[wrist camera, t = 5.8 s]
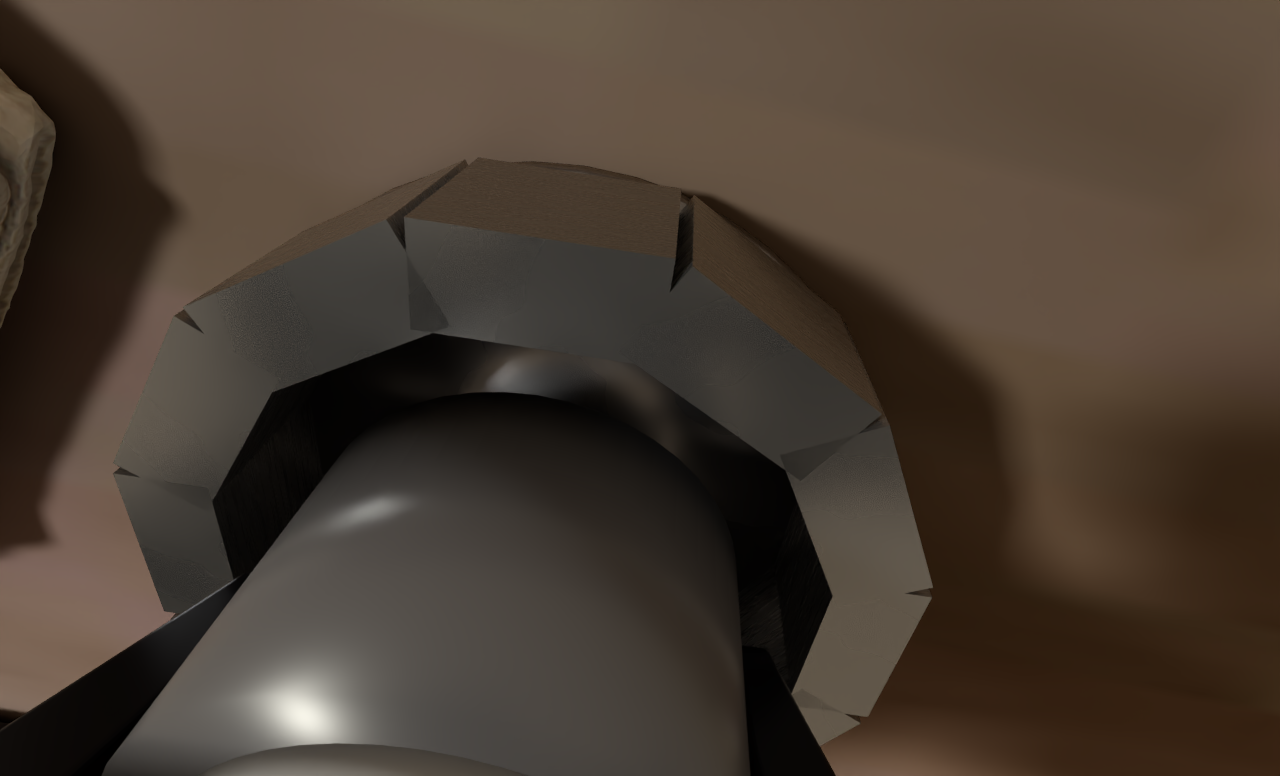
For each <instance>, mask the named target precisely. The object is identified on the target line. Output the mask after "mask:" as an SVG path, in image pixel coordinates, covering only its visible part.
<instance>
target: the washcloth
mask: <svg viewBox="0 0 1280 776" xmlns="http://www.w3.org/2000/svg"><path fill="white" fill-rule="evenodd" d="M55 139H56V131H55V126H54V122H53V121H52V120H51V119H50V118H49V117H48V116H47V115H46V114H45V113H44V112H43V111H42V110H41V108H40V107H39V106H38V104H37V103H36V102H35V100H34V99H33V98H32V96H30V95H29V94H27V93H25V92H24V91H22V90H20V89H19V88H18V87H17V86H16V85H15V84H14V83H13V82H12V81H11V79H10V78H9V77H8V76H7V75H6V74H5V73H4V72H3V71H2V70H1V69H0V328H1V326H2V323H3V320H4V317H5V314H6V312H7V310H8V309H9V308H10V302H11V299H12V297H13V294H14V293H15V291H16V289H17V287H18V283H19V279H20V276H21V274H22V271H23V265H24V257H25V255H26V252H27V250H28V248H29V245H30V241H31V235H32V233H33V231H34V229H35V228H36V226H37V214H38V212H39V210H40V208H41V205H42V201H43V196H44V193H45V189H46V185H47V181H48V178H49V175H50V172H51V168H52V153H53V149H54V144H55Z"/></svg>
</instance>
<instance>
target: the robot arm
mask: <svg viewBox="0 0 1280 776" xmlns="http://www.w3.org/2000/svg"><path fill="white" fill-rule="evenodd" d="M250 574H251V572H247V573H244V574H242V575H240V576H239V577H237V578H235V579H234V580H232V581H231V582H229V583H228V584H226V585H225V586H223V587H221V588H220V589H218V590H217V591H215V592H214V593H212V594H211V595H209V596H207V597H206V598H204V599H203V600H201V601H200V602H198V603H197V604H195V605H193V606H192V607H190V608H189V609H187V610H186V611H184V612H183V613H181V614H179V615H178V616H176V617H175V618H173V619H172V620H170V621H169V622H167V623H165V624H164V625H162V626H161V627H159V628H158V629H156V630H155V631H153V632H151V633H150V634H148V635H147V636H145V637H144V638H142V639H141V640H139V641H137V642H136V643H134V644H133V645H131V646H130V647H128V648H127V649H125V650H123V651H122V652H120V653H119V654H117V655H116V656H114V657H113V658H111V659H109V660H108V661H106V662H105V663H103V664H102V665H100V666H99V667H97V668H95V669H94V670H92V671H91V672H89V673H88V674H86V675H85V676H83V677H81V678H80V679H78V680H77V681H75V682H74V683H72V684H71V685H69V686H67V687H66V688H64V689H63V690H61V691H60V692H58V693H57V694H55V695H53V696H52V697H50V698H49V699H47V700H46V701H44V702H43V703H41V704H39V705H38V706H36V707H35V708H33V709H32V710H30V711H29V712H27V713H25V714H24V715H22V716H21V717H19V718H18V719H16V720H15V721H13V722H11V723H10V724H9V723H2V722H0V776H102V773H103V771H104V769H105V766H106V764H107V763H108V761H109V760H110V759H111V757H112V756H113V755H114V753H115V752H116V751H117V749H118V748H119V747H120V745H121V744H122V743H123V742H124V740H125V739H126V738H127V736H128V735H129V734H130V732H131V731H132V730H133V728H134V727H135V726H136V724H137V723H138V722H139V720H140V719H141V718H142V716H143V715H144V714H145V712H146V711H147V710H148V708H149V707H150V706H151V705H152V703H153V702H154V701H155V699H156V698H157V697H158V695H159V694H160V693H161V691H162V690H163V689H164V687H165V686H166V685H167V683H168V682H169V681H170V679H171V678H172V677H173V675H174V674H175V673H176V671H177V670H178V669H179V668H180V666H181V665H182V664H183V662H184V661H185V660H186V658H187V657H188V656H189V654H190V653H191V652H192V650H193V649H194V648H195V646H196V645H197V644H198V642H199V641H200V640H201V638H202V637H203V636H204V634H205V633H206V632H207V631H208V629H209V628H210V627H211V625H212V624H213V623H214V621H215V620H216V619H217V617H218V616H219V615H220V613H221V612H222V611H223V609H224V608H225V607H226V605H227V604H228V603H229V601H230V600H231V599H232V597H233V596H234V595H235V593H236V592H237V591H238V590H239V588H240V587H241V586H242V584H243V583H244V582H245V580H246V579H247V578H248V576H249V575H250ZM742 656H743V671H744V686H745V701H746V716H747V731H748V746H749V761H750V776H836V775H835V773H834V772H833V770H832V768H831V766H830V764H829V762H828V761H827V759H826V757H825V755H824V753H823V751H822V749H821V748H820V746H819V744H818V742H817V740H816V738H815V737H814V735H813V733H812V731H811V729H810V727H809V726H808V724H807V722H806V720H805V718H804V716H803V715H802V713H801V711H800V709H799V707H798V705H797V703H796V702H795V700H794V698H793V696H792V694H791V692H790V691H789V689H788V687H787V685H786V683H785V681H784V680H783V678H782V676H781V674H780V672H779V670H778V669H777V667H776V665H775V663H774V661H773V659H772V657H771V656H770V654H769V653H768V652H767V651H766V650H765V649H763V648H758V647H752V646H745V645H742Z"/></svg>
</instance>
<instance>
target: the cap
mask: <svg viewBox="0 0 1280 776" xmlns="http://www.w3.org/2000/svg"><path fill="white" fill-rule="evenodd" d="M102 776H750V761H749V746H748V731H747V716H746V701H745V686H744V671H743V656H742V641H741V626H740V611H739V596H738V581H737V566H736V557H735V551H734V545H733V540H732V537H731V534H730V531H729V529H728V526H727V523H726V520H725V518H724V516H723V514H722V512H721V511H720V509H719V507H718V505H717V503H716V502H715V500H714V498H713V497H712V495H711V494H710V493H709V491H708V490H707V489H706V487H705V486H704V485H703V484H702V482H701V481H700V480H699V478H698V477H697V476H696V475H695V474H694V473H693V472H692V471H691V470H690V469H689V468H688V467H687V466H686V465H685V464H684V463H683V462H682V461H681V460H680V459H679V458H678V457H676V456H675V455H674V454H672V453H671V452H670V451H668V450H667V449H666V448H664V447H663V446H662V445H661V444H659V443H658V442H657V441H655V440H654V439H652V438H650V437H649V436H647V435H645V434H644V433H642V432H640V431H639V430H637V429H635V428H633V427H632V426H630V425H628V424H626V423H624V422H622V421H619V420H617V419H615V418H613V417H611V416H608V415H606V414H604V413H602V412H599V411H596V410H593V409H590V408H587V407H584V406H581V405H578V404H575V403H571V402H568V401H563V400H559V399H554V398H549V397H544V396H539V395H532V394H522V393H511V392H472V393H464V394H457V395H449V396H442V397H439V398H435V399H431V400H427V401H424V402H420V403H416V404H413V405H411V406H408V407H406V408H404V409H401V410H399V411H397V412H394V413H392V414H390V415H388V416H386V417H385V418H383V419H381V420H380V421H378V422H376V423H375V424H373V425H372V426H370V427H368V428H367V429H366V430H365V431H364V432H362V433H361V434H360V435H359V436H358V437H357V438H355V439H354V440H353V441H352V442H351V443H350V444H349V445H348V446H347V448H346V449H345V450H344V451H343V453H342V454H341V455H340V456H339V458H338V459H337V460H336V461H335V463H334V464H333V465H332V467H331V468H330V469H329V471H328V472H327V473H326V475H325V476H324V477H323V479H322V480H321V481H320V482H319V484H318V485H317V486H316V488H315V489H314V490H313V492H312V493H311V494H310V496H309V497H308V498H307V500H306V501H305V502H304V504H303V505H302V506H301V508H300V509H299V510H298V512H297V513H296V514H295V516H294V517H293V518H292V519H291V521H290V522H289V523H288V525H287V526H286V527H285V529H284V530H283V531H282V533H281V534H280V535H279V537H278V538H277V539H276V541H275V542H274V543H273V545H272V546H271V547H270V549H269V550H268V551H267V553H266V554H265V555H264V556H263V558H262V559H261V560H260V562H259V563H258V564H257V566H256V567H255V568H254V570H253V571H252V572H251V574H250V575H249V576H248V578H247V579H246V580H245V582H244V583H243V584H242V586H241V587H240V588H239V590H238V591H237V592H236V593H235V595H234V596H233V597H232V599H231V600H230V601H229V603H228V604H227V605H226V607H225V608H224V609H223V611H222V612H221V613H220V615H219V616H218V617H217V619H216V620H215V621H214V623H213V624H212V625H211V627H210V628H209V629H208V631H207V632H206V633H205V634H204V636H203V637H202V638H201V640H200V641H199V642H198V644H197V645H196V646H195V648H194V649H193V650H192V652H191V653H190V654H189V656H188V657H187V658H186V660H185V661H184V662H183V664H182V665H181V666H180V668H179V669H178V670H177V671H176V673H175V674H174V675H173V677H172V678H171V679H170V681H169V682H168V683H167V685H166V686H165V687H164V689H163V690H162V691H161V693H160V694H159V695H158V697H157V698H156V699H155V701H154V702H153V703H152V705H151V706H150V707H149V708H148V710H147V711H146V712H145V714H144V715H143V716H142V718H141V719H140V720H139V722H138V723H137V724H136V726H135V727H134V728H133V730H132V731H131V732H130V734H129V735H128V736H127V738H126V739H125V740H124V742H123V743H122V744H121V745H120V747H119V748H118V749H117V751H116V752H115V753H114V755H113V756H112V757H111V759H110V760H109V761H108V763H107V764H106V766H105V769H104V771H103V773H102Z"/></svg>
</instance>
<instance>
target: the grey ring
mask: <svg viewBox="0 0 1280 776" xmlns="http://www.w3.org/2000/svg"><path fill="white" fill-rule="evenodd" d="M183 308H184V310H183V311H181V312H179V313H178V314H176V315H175V316H174V317H173V319H172V322H171V324H170V327H169V329H168V331H167V334H166V336H165V339H164V341H163V343H162V346H161V348H160V351H159V353H158V356H157V358H156V360H155V363H154V365H153V368H152V370H151V373H150V375H149V377H148V380H147V382H146V385H145V387H144V390H143V392H142V394H141V397H140V399H139V402H138V404H137V407H136V409H135V411H134V414H133V416H132V419H131V421H130V423H129V426H128V428H127V431H126V433H125V436H124V438H123V440H122V443H121V445H120V448H119V450H118V453H117V455H116V457H115V460H114V462H113V463H114V464H116V465H117V466H119V467H120V468H119V469H118V470H117V471H115V472H114V473H113V475H114V477H115V480H116V483H117V485H118V488H119V491H120V493H121V496H122V499H123V501H124V504H125V507H126V510H127V512H128V515H129V518H130V520H131V523H132V526H133V528H134V531H135V534H136V536H137V539H138V542H139V545H140V547H141V550H142V553H143V555H144V558H145V561H146V563H147V566H148V569H149V571H150V574H151V577H152V580H153V582H154V585H155V588H156V590H157V593H158V596H159V598H160V601H161V604H162V606H163V609H164V611H167V612H173V613H176V614H175V615H174V616H173V617H172V618H171V620H172V619H173V618H175V617H176V616H178V615H179V614H181V613H183V612H184V611H186V610H187V609H189V608H190V607H192V606H193V605H195V604H197V603H198V602H200V601H201V600H203V599H204V598H206V597H207V596H209V595H211V594H212V593H214V592H215V591H217V590H218V589H220V588H221V587H223V586H225V585H226V584H228V583H229V582H231V581H232V580H234V579H235V578H237V577H239V576H240V575H242V574H244V573H247V572H252V571H253V570H254V568H255V567H256V566H257V564H258V563H259V562H260V560H261V559H262V558H263V556H264V555H265V554H266V553H267V551H268V550H269V549H270V547H271V546H272V545H273V543H274V542H275V541H276V539H277V538H278V537H279V535H280V534H281V533H282V531H283V530H284V529H285V527H286V526H287V525H288V523H289V522H290V521H291V519H292V518H293V517H294V516H295V514H296V513H297V512H298V510H299V509H300V508H301V506H302V505H303V504H304V502H305V501H306V500H307V498H308V497H309V496H310V494H311V493H312V492H313V490H314V489H315V488H316V486H317V485H318V484H319V482H320V481H321V480H322V479H323V477H324V476H325V475H326V473H327V472H328V471H329V469H330V468H331V467H332V465H333V464H334V463H335V461H336V460H337V459H338V458H339V456H340V455H341V454H342V453H343V451H344V450H345V449H346V448H347V446H348V445H349V444H350V443H351V442H352V441H353V440H354V439H355V438H357V437H358V436H359V435H360V434H361V433H362V432H364V431H365V430H366V429H367V428H368V427H370V426H372V425H373V424H375V423H376V422H378V421H380V420H381V419H383V418H385V417H386V416H388V415H390V414H392V413H394V412H397V411H399V410H401V409H404V408H406V407H408V406H411V405H413V404H416V403H420V402H424V401H427V400H431V399H435V398H439V397H442V396H449V395H457V394H464V393H472V392H511V393H522V394H532V395H539V396H544V397H549V398H554V399H559V400H563V401H568V402H571V403H575V404H578V405H581V406H584V407H587V408H590V409H593V410H596V411H599V412H602V413H604V414H606V415H608V416H611V417H613V418H615V419H617V420H619V421H622V422H624V423H626V424H628V425H630V426H632V427H633V428H635V429H637V430H639V431H640V432H642V433H644V434H645V435H647V436H649V437H650V438H652V439H654V440H655V441H657V442H658V443H659V444H661V445H662V446H663V447H664V448H666V449H667V450H668V451H670V452H671V453H672V454H674V455H675V456H676V457H678V458H679V459H680V460H681V461H682V462H683V463H684V464H685V465H686V466H687V467H688V468H689V469H690V470H691V471H692V472H693V473H694V474H695V475H696V476H697V477H698V478H699V480H700V481H701V482H702V484H703V485H704V486H705V487H706V489H707V490H708V491H709V493H710V494H711V495H712V497H713V498H714V500H715V502H716V503H717V505H718V507H719V509H720V511H721V512H722V514H723V516H724V518H725V520H726V523H727V526H728V529H729V531H730V534H731V537H732V540H733V545H734V551H735V557H736V566H737V581H738V596H739V611H740V626H741V641H742V645H745V646H752V647H758V648H763V649H765V650H766V651H767V652H768V653H769V654H770V656H771V657H772V659H773V661H774V663H775V665H776V667H777V669H778V670H779V672H780V674H781V676H782V678H783V680H784V681H785V683H786V685H787V687H788V689H789V691H790V692H791V694H792V696H793V698H794V700H795V702H796V703H797V705H798V707H799V709H800V711H801V713H802V715H803V716H804V718H805V720H806V722H807V724H808V726H809V727H810V729H811V731H812V733H813V735H814V737H815V738H816V740H817V742H818V744H819V746H821V745H823V744H825V743H826V742H828V741H830V740H832V739H834V738H835V737H837V736H839V735H841V734H843V733H844V732H846V731H848V730H850V729H852V728H853V727H855V726H857V725H859V724H860V723H861V722H860V718H859V716H864V717H868V716H869V714H870V712H871V710H872V708H873V706H874V704H875V703H876V701H877V699H878V697H879V695H880V693H881V691H882V690H883V688H884V686H885V684H886V682H887V680H888V678H889V677H890V675H891V673H892V671H893V669H894V667H895V665H896V664H897V662H898V660H899V658H900V656H901V654H902V652H903V651H904V649H905V647H906V645H907V643H908V641H909V639H910V638H911V636H912V634H913V632H914V630H915V628H916V626H917V625H918V623H919V621H920V619H921V617H922V615H923V613H924V612H925V610H926V608H927V606H928V604H929V602H930V600H931V599H932V596H931V594H930V591H929V588H933V585H932V582H931V578H930V574H929V570H928V567H927V563H926V559H925V555H924V552H923V548H922V544H921V540H920V537H919V533H918V529H917V526H916V522H915V518H914V514H913V511H912V507H911V503H910V499H909V496H908V492H907V488H906V484H905V481H904V477H903V473H902V470H901V466H900V462H899V458H898V455H897V451H896V447H895V443H894V440H893V436H892V432H891V428H890V425H889V423H888V420H887V418H886V416H885V413H884V411H883V409H882V406H881V404H880V402H879V399H878V397H877V395H876V392H875V390H874V388H873V386H872V383H871V381H870V379H869V376H868V374H867V372H866V369H865V367H864V365H863V362H862V360H861V358H860V355H859V353H858V351H857V348H856V346H855V344H854V341H853V339H852V337H851V334H850V332H849V330H848V327H847V325H846V323H843V321H842V319H841V316H840V314H839V313H838V312H837V311H836V310H834V309H833V308H832V307H831V306H829V305H828V304H827V303H826V302H825V301H823V300H822V299H821V298H820V297H818V296H817V295H816V294H815V293H814V292H812V291H811V290H810V289H809V288H808V287H807V285H806V284H805V283H804V282H803V280H802V279H801V278H800V277H799V276H798V275H797V274H796V273H795V272H794V271H793V270H792V269H791V268H790V267H789V266H788V265H786V264H785V263H784V262H783V261H782V260H781V259H780V258H779V257H778V256H777V255H776V254H775V253H774V252H773V251H772V250H771V249H770V248H769V247H767V246H766V245H765V244H763V243H762V242H761V241H759V240H758V239H756V238H755V237H754V236H752V235H751V234H749V233H748V232H747V231H745V230H744V229H742V228H741V227H740V226H738V225H737V224H735V223H734V222H733V221H731V220H730V219H728V218H727V217H725V216H723V215H721V214H719V213H717V212H715V211H713V210H712V209H711V208H710V207H708V206H707V205H706V204H705V203H704V202H702V201H701V200H700V199H699V198H697V197H696V196H695V195H694V196H693V197H692V198H689V197H687V196H685V195H683V194H681V189H679V188H672V187H666V186H660V185H655V184H653V183H650V182H647V181H645V180H642V179H639V178H636V177H633V176H628V175H624V174H619V173H615V172H610V171H606V170H601V169H597V168H592V167H588V166H581V165H570V164H558V163H547V162H535V161H531V162H504V161H498V160H491V159H485V158H477V159H476V160H475V161H474V162H472V163H471V164H470V165H469V166H468V164H467V162H466V161H465V160H463V161H461V162H458V163H456V164H454V165H451V166H449V167H447V168H445V169H442V170H440V171H438V172H436V173H433V174H431V175H429V176H427V177H424V178H421V179H418V180H415V181H412V182H410V183H407V184H404V185H401V186H398V187H396V188H393V189H391V190H389V191H387V192H385V193H384V194H382V195H380V196H378V197H376V198H374V199H373V200H371V201H369V202H367V203H365V204H363V205H361V206H359V207H357V208H355V209H352V210H350V211H348V212H346V213H343V214H341V215H339V216H336V217H334V218H332V219H330V220H327V221H325V222H323V223H321V224H318V225H316V226H314V227H312V228H309V229H307V230H305V231H303V232H301V233H300V234H298V235H296V236H295V237H293V238H292V239H290V240H289V241H287V242H285V243H284V244H282V245H281V246H279V247H277V248H276V249H274V250H273V251H271V252H270V253H268V254H266V255H265V256H263V257H262V258H260V259H258V260H257V261H255V262H254V263H252V264H250V265H249V266H247V267H246V268H244V269H243V270H241V271H239V272H238V273H236V274H235V275H233V276H231V277H230V278H228V279H227V280H225V281H224V282H222V283H220V284H219V285H217V286H216V287H214V288H212V289H211V290H209V291H208V292H206V293H205V294H203V295H201V296H200V297H198V298H197V299H195V300H193V301H192V302H190V303H189V304H187V305H185V306H184V307H183Z"/></svg>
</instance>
